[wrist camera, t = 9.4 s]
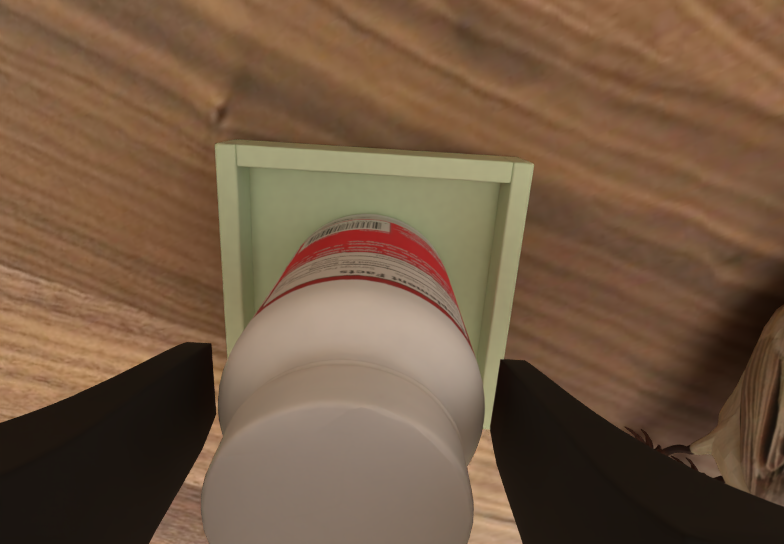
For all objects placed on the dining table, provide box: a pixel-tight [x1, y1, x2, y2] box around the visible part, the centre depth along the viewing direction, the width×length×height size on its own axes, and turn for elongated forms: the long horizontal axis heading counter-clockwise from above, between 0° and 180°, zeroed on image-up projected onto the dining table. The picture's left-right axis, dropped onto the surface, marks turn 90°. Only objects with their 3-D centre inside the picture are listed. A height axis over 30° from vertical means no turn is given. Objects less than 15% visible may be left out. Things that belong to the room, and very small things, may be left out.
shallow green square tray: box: [215, 139, 534, 429], centre depth 18 cm, size 10×10×2 cm
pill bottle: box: [201, 214, 485, 544], centre depth 13 cm, size 6×6×11 cm
